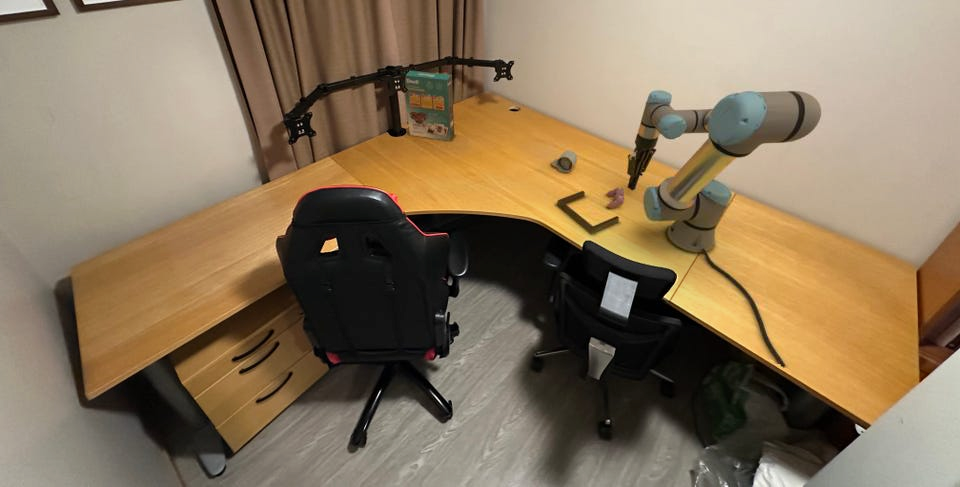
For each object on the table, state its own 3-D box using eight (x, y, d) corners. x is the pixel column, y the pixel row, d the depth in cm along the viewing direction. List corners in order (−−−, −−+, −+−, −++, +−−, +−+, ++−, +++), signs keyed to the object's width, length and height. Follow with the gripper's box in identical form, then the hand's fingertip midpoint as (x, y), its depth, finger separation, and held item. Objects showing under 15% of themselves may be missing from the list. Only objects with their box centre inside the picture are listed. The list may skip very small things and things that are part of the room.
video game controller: (615, 213, 157) (627, 201, 153) (606, 207, 156) (618, 195, 152) (614, 198, 164) (626, 187, 160) (605, 193, 164) (616, 181, 159)
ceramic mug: (577, 165, 180) (579, 150, 175) (571, 174, 175) (573, 159, 170) (554, 160, 184) (556, 145, 179) (548, 168, 179) (550, 153, 174)
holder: (617, 222, 150) (619, 217, 149) (591, 234, 145) (592, 229, 144) (581, 195, 163) (583, 190, 162) (556, 205, 158) (557, 200, 157)
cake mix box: (454, 135, 202) (451, 75, 181) (450, 140, 197) (447, 79, 177) (414, 129, 206) (407, 70, 186) (410, 134, 202) (402, 74, 182)
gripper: (652, 126, 149) (635, 179, 165) (627, 134, 144) (612, 188, 160) (668, 134, 144) (649, 188, 160) (643, 143, 140) (626, 197, 156)
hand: (631, 188), depth 160 cm, fingers closed
